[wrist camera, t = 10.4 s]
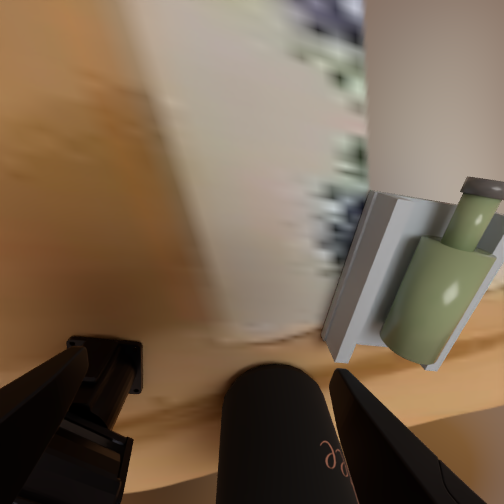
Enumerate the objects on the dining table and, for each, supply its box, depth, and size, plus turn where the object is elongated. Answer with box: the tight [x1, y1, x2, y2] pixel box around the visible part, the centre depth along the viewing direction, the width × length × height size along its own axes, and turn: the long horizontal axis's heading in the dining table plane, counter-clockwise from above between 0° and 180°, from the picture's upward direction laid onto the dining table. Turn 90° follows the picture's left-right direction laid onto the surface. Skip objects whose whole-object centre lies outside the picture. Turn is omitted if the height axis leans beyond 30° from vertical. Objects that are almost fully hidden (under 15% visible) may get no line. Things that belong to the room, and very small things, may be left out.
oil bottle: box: [380, 177, 504, 365], centre depth 19 cm, size 14×4×4 cm, turn 171°
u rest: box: [321, 190, 504, 371], centre depth 21 cm, size 14×10×3 cm
